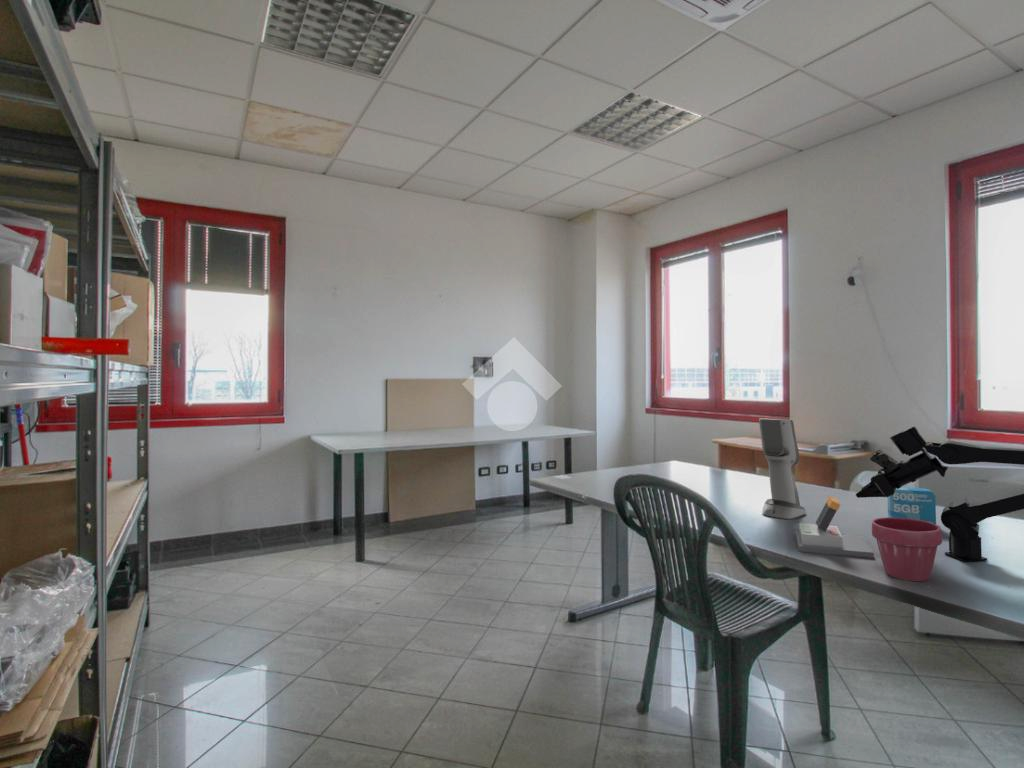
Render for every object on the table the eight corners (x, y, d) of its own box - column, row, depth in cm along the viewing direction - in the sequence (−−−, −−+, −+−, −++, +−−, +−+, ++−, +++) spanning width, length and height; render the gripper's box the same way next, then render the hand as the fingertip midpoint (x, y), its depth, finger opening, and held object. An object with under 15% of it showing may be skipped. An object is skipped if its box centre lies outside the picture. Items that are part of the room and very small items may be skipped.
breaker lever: (823, 525, 161) (837, 499, 160) (825, 532, 155) (840, 504, 153) (815, 521, 162) (829, 495, 160) (817, 528, 156) (832, 500, 154)
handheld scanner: (756, 514, 195) (754, 418, 194) (775, 508, 202) (772, 415, 202) (789, 520, 185) (786, 419, 185) (807, 514, 193) (804, 416, 192)
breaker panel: (863, 541, 161) (863, 525, 161) (873, 558, 146) (873, 541, 146) (795, 535, 168) (795, 520, 168) (799, 551, 154) (798, 535, 154)
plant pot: (866, 562, 143) (865, 514, 143) (930, 567, 138) (929, 518, 138) (881, 582, 130) (879, 529, 130) (952, 588, 125) (951, 533, 125)
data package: (890, 525, 175) (889, 489, 175) (888, 522, 179) (887, 486, 179) (936, 529, 170) (935, 491, 170) (932, 525, 174) (931, 488, 174)
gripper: (898, 440, 161) (848, 464, 170) (889, 447, 147) (835, 473, 156) (924, 473, 157) (871, 496, 166) (917, 484, 143) (860, 508, 152)
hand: (859, 493), depth 160 cm, fingers open, 9 cm apart
